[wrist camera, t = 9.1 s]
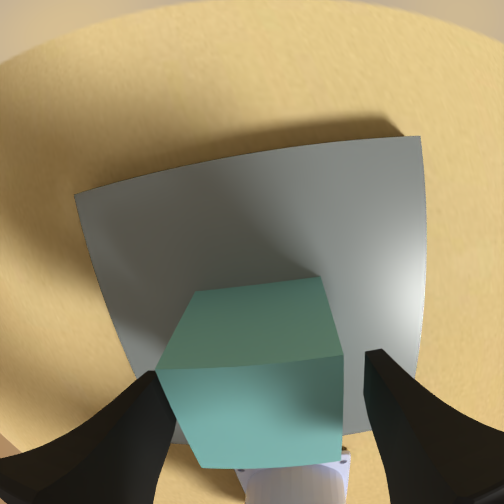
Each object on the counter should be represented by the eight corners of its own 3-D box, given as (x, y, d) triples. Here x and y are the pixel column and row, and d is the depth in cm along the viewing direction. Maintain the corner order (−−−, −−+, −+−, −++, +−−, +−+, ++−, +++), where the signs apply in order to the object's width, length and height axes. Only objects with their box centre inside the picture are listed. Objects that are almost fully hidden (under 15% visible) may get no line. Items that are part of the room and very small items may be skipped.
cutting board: (399, 405, 16) (405, 422, 15) (175, 426, 18) (169, 443, 16) (405, 136, 11) (420, 135, 10) (91, 189, 13) (74, 194, 12)
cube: (327, 374, 14) (340, 460, 9) (220, 383, 14) (201, 467, 10) (320, 276, 12) (343, 355, 7) (195, 291, 13) (154, 369, 8)
